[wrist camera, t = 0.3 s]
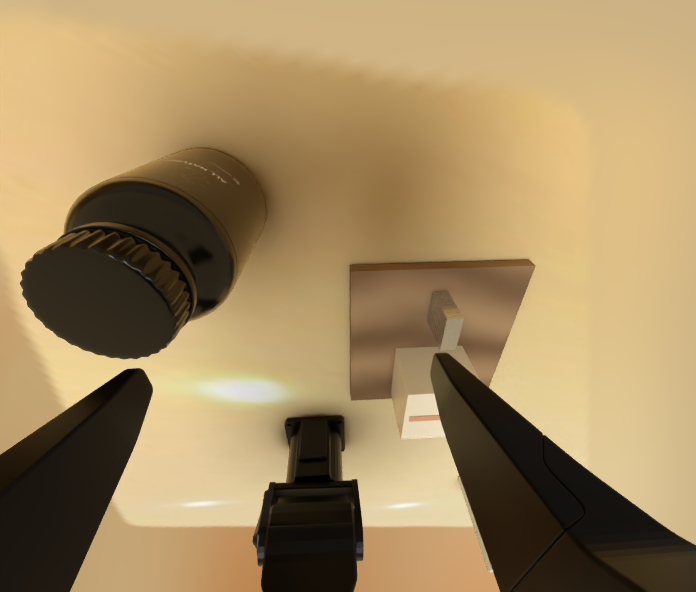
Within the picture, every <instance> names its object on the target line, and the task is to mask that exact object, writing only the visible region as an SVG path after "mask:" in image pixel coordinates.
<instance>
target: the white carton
mask: <svg viewBox="0 0 696 592" xmlns="http://www.w3.org/2000/svg"><path fill="white" fill-rule="evenodd" d="M435 353H448V354H450V355H451V356H452V357H453V358H455V359H456V360H457V361H458V362H459V363H460V364H462V365H463V366H464V367H465V368H466V369H467V370H469V371H470V372H471V373H472V374H473V375H475V376H476V377H477V378H478V379H479V377H478V375H477V373H476V371H475V369H474V367H473V366H472V364H471V362H470V360H469V358H468V356H467V354H466V352H465V350H464V348H463V346H457V347H456V350H443V351H440V350H439V347H416V348H396V352H395V361H394V370H393V378H392V387H391V395H392V400H393V404H394V409H395V414H396V419H397V424H398V428H399V433H400V438H401V439H419V438H437V437H446V436H445V433H444V430H443V427H442V424H441V420H440V416H439V412H438V408H437V403H436V399H435V395H434V390H433V386H432V382H431V377H430V370H431V365H432V360H433V355H434V354H435ZM479 380H480V379H479Z"/></svg>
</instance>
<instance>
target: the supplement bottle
mask: <svg viewBox="0 0 696 592" xmlns="http://www.w3.org/2000/svg"><path fill="white" fill-rule="evenodd" d="M265 218H266V206H265V200H264V197H263V194H262V191H261V189H260V187H259V185H258V183H257V181H256V180H255V178H254V177H253V176H252V174H251V173H250V172H249V171H248V170H247V169H246V168H245V167H244V166H243V165H242V164H241V163H239V162H238V161H237V160H235V159H234V158H232V157H230V156H228V155H226V154H224V153H222V152H219V151H216V150H212V149H206V148H193V149H187V150H183V151H180V152H177V153H174V154H172V155H169V156H167V157H164V158H161V159H159V160H156V161H154V162H151V163H149V164H146V165H144V166H141V167H139V168H136V169H134V170H131V171H128V172H126V173H123V174H121V175H118V176H116V177H113V178H111V179H108V180H106V181H104V182H101V183H99V184H97V185H95V186H93V187H91V188H90V189H88V190H87V191H85V192H84V193H83V194H81V195H80V196H79V197H78V198H77V200H76V201H75V202H74V203H73V205H72V206H71V208H70V210H69V212H68V215H67V217H66V221H65V225H64V235H62V236H61V237H60V238H59V239H58V240H57V241H56V242H54V243H52V244H50V245H48V246H46V247H44V248H43V249H41V250H39V251H37V252H36V253H35V254H34V256H33V258H31V259H29V260H28V261H27V262H26V264H25V269H24V270H23V271H22V272H21V275H22V281H21V282H20V285H21V287H22V289H23V292H22V295H23V296H24V298H25V299H26V300H27V305H28V307H29V308H30V309H31V310H32V311H33V312H34V315H35V317H36V318H37V319H39V320H40V321H41V322H43V324H44V325H45V327H46V328H48V329H50V330H51V331H53V332H54V333H55V334H56V335H57V336H58V337H60V338H62V339H65V340H66V341H67V342H68V343H70V344H72V345H75V346H78V347H79V348H81V349H83V350H85V351H90V352H93V353H95V354H97V355H104V356H107V357H110V358H121V359H128V358H133V359H138V358H140V357H148V356H150V355H151V354H155V353H158V352H159V351H160V350H161V349H164V348H166V347H167V346H168V345H169V344H170V342H171V341H172V340H173V339H174V338H175V337H176V336H177V334H178V333H179V331H180V329H181V328H182V327H183V326H184V325H185V324H186V323H187V322H189V321H193V320H196V319H199V318H201V317H204V316H206V315H208V314H210V313H211V312H213V311H214V310H216V309H217V308H218V307H219V306H220V305H221V304H222V303H223V302H224V301H225V300H226V298H227V297H228V295H229V294H230V292H231V291H232V289H233V287H234V285H235V283H236V281H237V279H238V277H239V275H240V273H241V271H242V269H243V267H244V266H245V264H246V262H247V260H248V258H249V256H250V254H251V252H252V250H253V248H254V246H255V244H256V242H257V240H258V238H259V236H260V234H261V232H262V229H263V226H264V223H265Z"/></svg>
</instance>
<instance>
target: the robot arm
mask: <svg viewBox="0 0 696 592" xmlns="http://www.w3.org/2000/svg"><path fill="white" fill-rule="evenodd" d="M430 377H431V382H432V386H433V390H434V395H435V399H436V403H437V408H438V412H439V416H440V420H441V424H442V427H443V430H444V433H445V436H446V439H447V442H448V445H449V447H450V450H451V453H452V456H453V459H454V462H455V464H456V467H457V470H458V473H459V476H460V479H461V481H462V484H463V487H464V490H465V493H466V496H467V498H468V501H469V504H470V507H471V510H472V513H473V516H474V518H475V521H476V524H477V527H478V530H479V533H480V535H481V538H482V541H483V544H484V547H485V550H486V552H487V555H488V558H489V561H490V564H491V567H492V569H493V572H494V575H495V578H496V580H497V584H498V586H499V589H500V592H696V545H694V544H692V543H691V542H689V541H687V540H685V539H683V538H682V537H680V536H678V535H676V534H675V533H674V532H672V531H670V530H669V529H667V528H666V527H664V526H663V525H662V524H660V523H659V522H657V521H656V520H655V519H653V518H652V517H651V516H649V515H648V514H647V513H645V512H644V511H643V510H641V509H640V508H638V507H637V506H636V505H634V504H633V503H632V502H630V501H629V500H628V499H626V498H625V497H624V496H622V495H621V494H619V493H618V492H617V491H615V490H614V489H612V488H611V487H610V486H609V485H607V484H606V483H605V482H603V481H602V480H600V479H599V478H598V477H596V476H595V475H594V474H593V473H591V472H590V471H589V470H587V469H586V468H585V467H583V466H582V465H581V464H579V463H578V462H577V461H576V460H574V459H573V458H572V457H571V456H570V455H568V454H567V453H566V452H565V451H563V450H562V449H561V448H560V447H558V446H557V445H556V444H555V443H554V442H553V441H551V440H550V439H549V438H548V437H547V436H545V435H543V434H542V432H541V431H539V430H538V429H537V428H536V427H535V426H534V425H532V424H531V423H530V422H529V421H528V420H526V419H525V418H524V417H523V416H522V415H521V414H519V413H518V412H517V411H516V410H515V409H513V408H512V407H511V406H510V405H509V404H508V403H506V402H505V401H504V400H503V399H502V398H501V397H499V396H498V395H497V394H496V393H495V392H493V391H492V390H491V389H490V388H489V387H488V386H486V385H485V384H484V383H483V382H482V381H480V380H479V379H478V378H477V377H476V376H475V375H473V374H472V373H471V372H470V371H469V370H467V369H466V368H465V367H464V366H463V365H462V364H460V363H459V362H458V361H457V360H456V359H455V358H453V357H452V356H451V355H450V354H448V353H435V354H434V355H433V360H432V365H431V370H430ZM152 393H153V387H152V384H151V383H150V381H149V379H148V377H147V375H146V373H145V372H144V370H142V369H140V368H136V369H126V370H124V371H123V372H121V373H120V374H118V375H117V376H115V377H114V378H113V379H111V380H110V381H108V382H107V383H105V384H104V385H102V386H101V387H99V388H98V389H96V390H95V391H93V392H92V393H90V394H89V395H88V396H86V397H85V398H83V399H82V400H80V401H79V402H77V403H76V404H74V405H73V406H71V407H70V408H68V409H67V410H65V411H64V412H63V413H61V414H60V415H58V416H57V417H55V418H54V419H52V420H51V421H49V422H48V423H46V424H45V425H43V426H42V427H40V428H39V429H38V430H36V431H35V432H33V433H32V434H30V435H29V436H27V437H26V438H24V439H23V440H21V441H20V442H18V443H17V444H16V445H14V446H13V447H11V448H10V449H8V450H7V451H5V452H4V453H2V454H1V455H0V592H70V590H71V588H72V585H73V584H74V581H75V579H76V577H77V575H78V572H79V570H80V568H81V565H82V563H83V561H84V559H85V556H86V554H87V552H88V550H89V548H90V545H91V543H92V541H93V539H94V536H95V534H96V532H97V530H98V527H99V525H100V523H101V521H102V518H103V516H104V514H105V512H106V509H107V507H108V505H109V503H110V501H111V498H112V496H113V494H114V492H115V489H116V487H117V485H118V483H119V480H120V478H121V476H122V474H123V471H124V469H125V467H126V465H127V462H128V460H129V458H130V456H131V453H132V451H133V449H134V446H135V444H136V442H137V439H138V436H139V433H140V430H141V427H142V424H143V421H144V418H145V415H146V412H147V409H148V406H149V403H150V400H151V397H152ZM285 429H286V434H287V439H288V444H289V449H290V451H289V461H288V470H287V480H286V483H276V482H270V484H269V489H268V490H267V491H265V493H264V499H263V505H262V510H261V514H260V517H259V520H258V523H257V527H256V530H255V533H254V536H253V544H254V545H255V547H256V548H257V556H258V565H259V566H263V569H262V579H261V587H262V591H263V592H354V589H355V585H356V581H357V563H356V561H362V560H363V527H362V517H361V508H360V500H359V491H358V483H357V479H352V480H350V481H343V479H342V453H341V452H342V451H344V450H345V444H344V418H343V417H340V416H338V417H319V418H300V419H287V420H286V421H285Z"/></svg>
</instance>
